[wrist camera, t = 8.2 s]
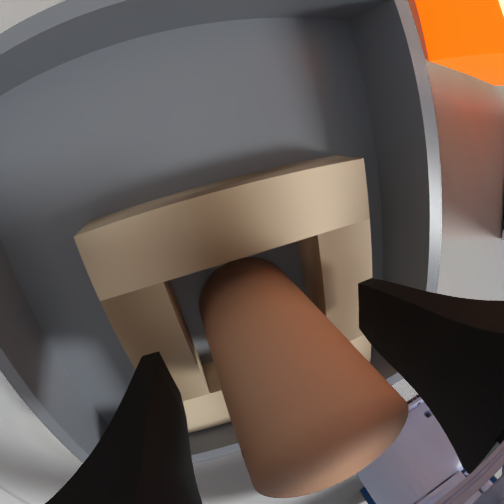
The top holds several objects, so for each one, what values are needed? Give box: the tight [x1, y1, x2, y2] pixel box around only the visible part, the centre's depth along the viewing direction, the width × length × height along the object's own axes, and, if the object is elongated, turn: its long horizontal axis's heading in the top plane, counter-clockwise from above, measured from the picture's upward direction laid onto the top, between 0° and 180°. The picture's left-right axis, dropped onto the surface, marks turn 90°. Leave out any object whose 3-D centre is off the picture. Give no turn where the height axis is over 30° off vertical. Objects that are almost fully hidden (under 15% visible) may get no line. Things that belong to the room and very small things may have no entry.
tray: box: [0, 0, 442, 464], centre depth 10 cm, size 18×18×4 cm
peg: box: [199, 257, 409, 498], centre depth 9 cm, size 4×4×8 cm
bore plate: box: [74, 155, 372, 433], centre depth 12 cm, size 10×10×2 cm
